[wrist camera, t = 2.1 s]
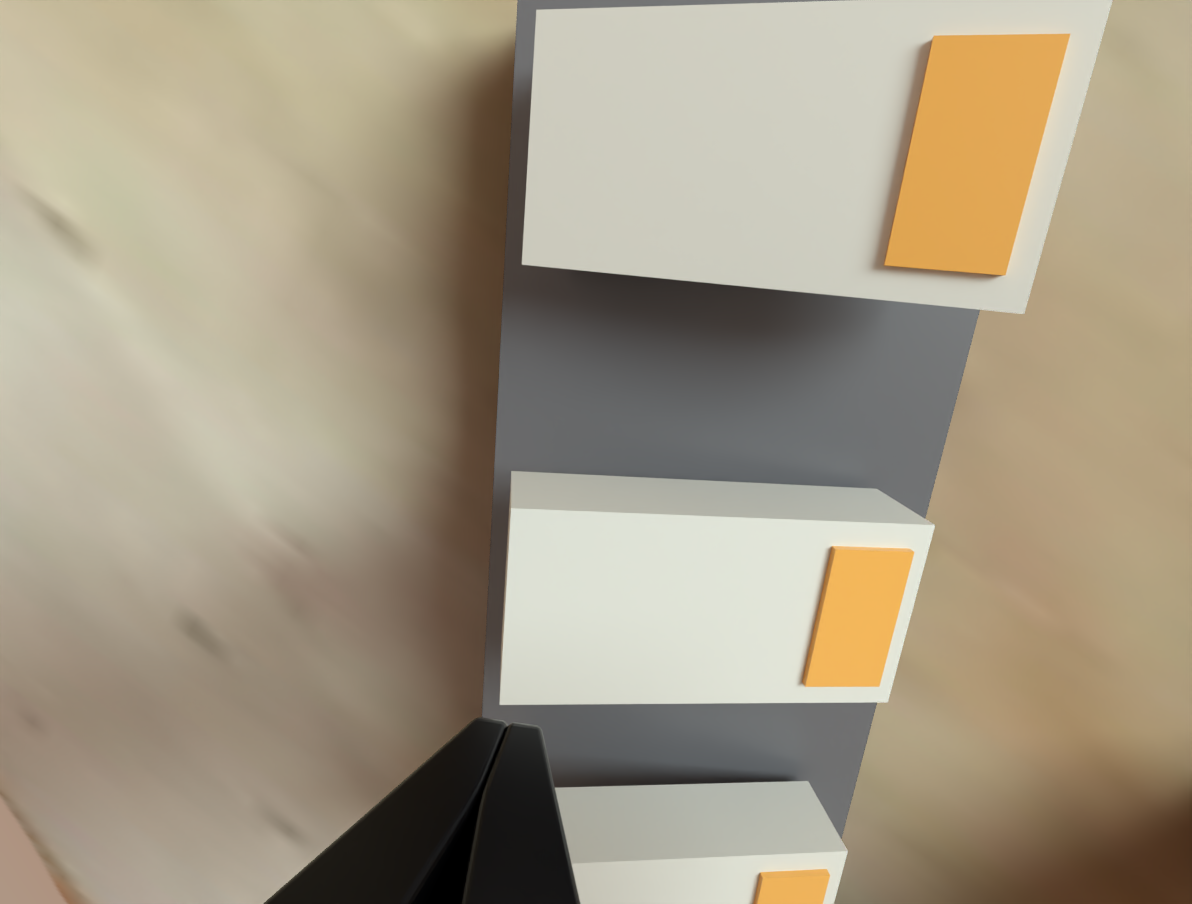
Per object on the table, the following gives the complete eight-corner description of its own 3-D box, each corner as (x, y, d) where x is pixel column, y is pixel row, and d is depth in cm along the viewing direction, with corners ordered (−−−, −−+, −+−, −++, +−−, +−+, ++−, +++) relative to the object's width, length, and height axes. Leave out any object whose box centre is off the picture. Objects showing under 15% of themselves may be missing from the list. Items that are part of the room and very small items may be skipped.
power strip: (1037, -273, 13) (1190, -497, 9) (785, 828, 22) (812, 947, 18) (575, -289, 14) (542, -503, 10) (505, 784, 22) (473, 889, 19)
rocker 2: (876, 488, 14) (940, 528, 12) (839, 645, 15) (892, 706, 13) (511, 470, 12) (511, 511, 10) (501, 643, 14) (499, 709, 12)
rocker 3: (808, 780, 16) (851, 857, 14) (780, 898, 17) (816, 984, 15) (493, 789, 15) (489, 874, 13) (485, 914, 16) (481, 1011, 14)
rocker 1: (1057, 48, 10) (1121, -13, 8) (988, 310, 11) (1027, 314, 9) (578, 53, 12) (532, 5, 10) (562, 268, 13) (518, 264, 11)
